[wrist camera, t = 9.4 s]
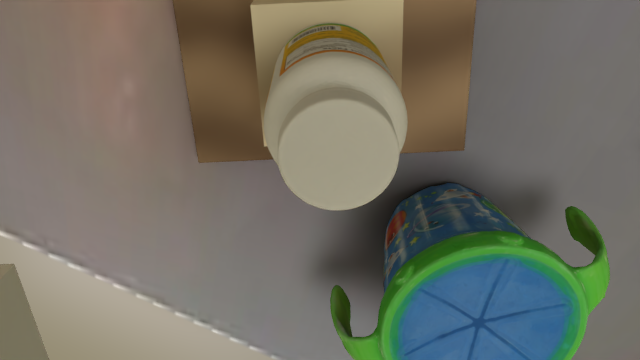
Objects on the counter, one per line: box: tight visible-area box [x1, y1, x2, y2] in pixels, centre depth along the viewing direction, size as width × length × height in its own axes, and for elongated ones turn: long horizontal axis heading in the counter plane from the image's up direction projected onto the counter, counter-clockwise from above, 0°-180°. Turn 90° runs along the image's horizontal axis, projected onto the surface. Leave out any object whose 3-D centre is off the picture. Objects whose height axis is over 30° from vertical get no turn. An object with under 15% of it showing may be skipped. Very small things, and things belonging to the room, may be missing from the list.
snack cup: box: [330, 183, 610, 360], centre depth 31 cm, size 16×10×10 cm
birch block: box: [250, 0, 404, 147], centre depth 28 cm, size 7×7×4 cm
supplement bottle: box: [264, 22, 408, 210], centre depth 22 cm, size 5×5×10 cm
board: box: [173, 0, 476, 163], centre depth 30 cm, size 14×16×1 cm
